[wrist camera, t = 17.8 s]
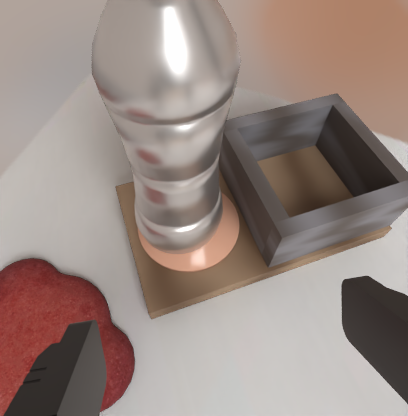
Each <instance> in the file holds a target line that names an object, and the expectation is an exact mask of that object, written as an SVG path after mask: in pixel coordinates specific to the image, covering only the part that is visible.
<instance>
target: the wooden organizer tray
mask: <svg viewBox="0 0 408 416" xmlns="http://www.w3.org/2000/svg"><path fill="white" fill-rule="evenodd" d="M218 164H219V186H220V190H221V192H222V193H223V194H224V195H226V196H227V197H228V198H229V200H230V201H231V202H232V203H233V205H234V207H235V209H236V211H237V214H238V218H239V233H238V238H237V241H236V244H235V246H234V247H233V249H232V251H231V252H230V253H229V255H228V256H227V257H226V258H225V259H224V260H222V261H221V262H220V263H218V264H217V265H215V266H213V267H211V268H208V269H206V270H202V271H198V272H178V271H174V270H170V269H167V268H165V267H163V266H161V265H159V264H158V263H156V262H155V261H154V260H152V259H151V258H150V257H149V256H148V254H147V253H146V252H145V250H144V248H143V246H142V244H141V242H140V239H139V234H138V226H137V224H136V219H135V206H134V204H135V187H134V182H130V183H127V184H123V185H119V186H116V191H117V194H118V198H119V202H120V206H121V210H122V213H123V217H124V221H125V225H126V229H127V232H128V236H129V240H130V244H131V248H132V252H133V255H134V259H135V263H136V267H137V271H138V274H139V278H140V282H141V286H142V290H143V293H144V297H145V301H146V305H147V309H148V312H149V315H150V317H151V319H153V318H156V317H159V316H162V315H165V314H168V313H170V312H173V311H176V310H179V309H182V308H184V307H187V306H190V305H193V304H196V303H199V302H201V301H204V300H207V299H210V298H213V297H215V296H218V295H221V294H224V293H227V292H229V291H232V290H235V289H238V288H241V287H244V286H246V285H249V284H252V283H255V282H258V281H260V280H263V279H266V278H269V277H272V276H274V275H277V274H280V273H283V272H286V271H289V270H291V269H294V268H297V267H300V266H303V265H305V264H308V263H311V262H314V261H317V260H320V259H322V258H325V257H328V256H331V255H334V254H336V253H339V252H342V251H345V250H348V249H350V248H353V247H356V246H359V245H362V244H365V243H367V242H370V241H373V240H376V239H379V238H381V237H384V236H385V235H386V234H387V233H388V232H389V231H390V230H391V229H392V228H391V227H390V225H391V224H392V223H393V222H394V221H395V220H396V219H397V218H398V217H399V216H400V215H401V214H402V213H403V212H404V211H405V210H406V209H407V208H408V172H407V171H406V170H405V169H404V167H403V166H402V165H401V164H400V163H399V162H398V161H397V160H396V159H395V157H394V156H393V155H392V154H391V153H390V152H389V151H388V150H387V148H386V147H385V146H384V145H383V144H382V143H381V142H380V141H379V140H378V138H377V137H376V136H375V135H374V134H373V133H372V132H371V131H370V130H369V128H368V127H367V126H366V125H365V124H364V123H363V122H362V121H361V120H360V118H359V117H358V116H357V115H356V114H355V113H354V112H353V111H352V109H351V108H350V107H349V106H348V105H347V104H346V103H345V102H344V101H343V99H342V98H341V97H340V96H339V95H338V94H333V95H329V96H324V97H320V98H316V99H312V100H308V101H304V102H300V103H295V104H291V105H287V106H283V107H279V108H275V109H271V110H267V111H263V112H258V113H254V114H250V115H246V116H242V117H238V118H234V119H230V120H226V123H225V126H224V130H223V136H222V143H221V148H220V155H219V161H218Z"/></svg>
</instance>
